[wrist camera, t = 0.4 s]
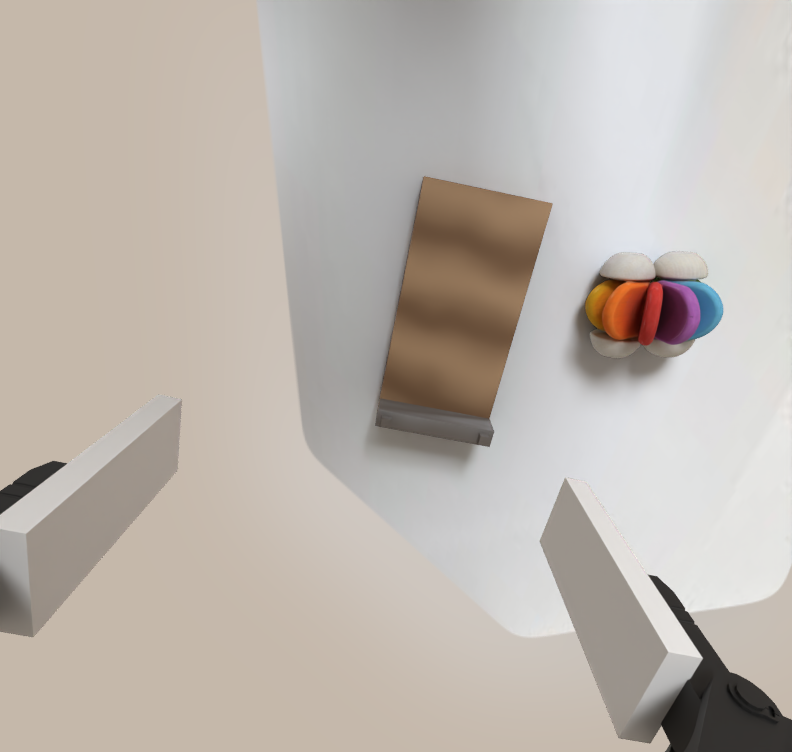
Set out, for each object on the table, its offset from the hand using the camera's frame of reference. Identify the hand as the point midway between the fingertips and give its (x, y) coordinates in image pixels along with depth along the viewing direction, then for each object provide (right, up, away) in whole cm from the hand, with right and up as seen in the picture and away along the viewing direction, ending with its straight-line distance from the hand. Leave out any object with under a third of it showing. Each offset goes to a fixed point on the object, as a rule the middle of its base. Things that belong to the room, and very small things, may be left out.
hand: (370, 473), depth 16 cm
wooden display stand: (+6, +9, +25) cm, 27 cm away
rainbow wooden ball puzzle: (+22, +10, +24) cm, 34 cm away
